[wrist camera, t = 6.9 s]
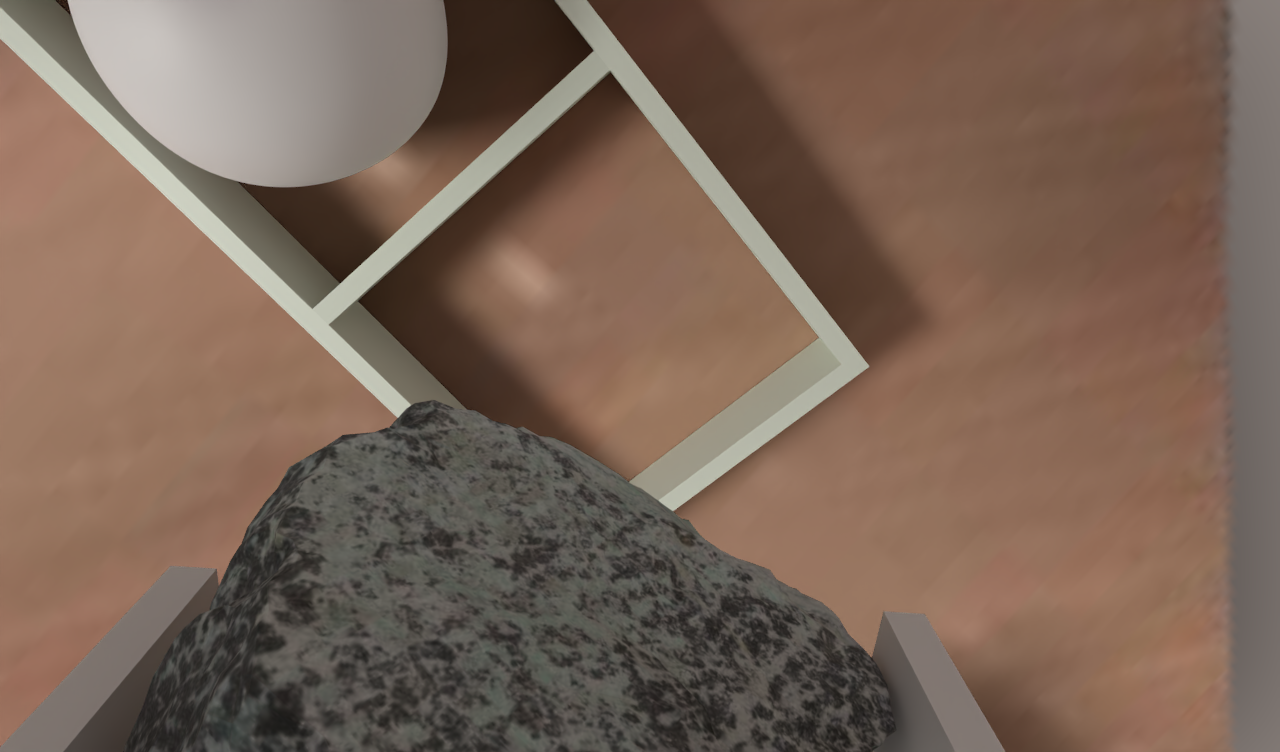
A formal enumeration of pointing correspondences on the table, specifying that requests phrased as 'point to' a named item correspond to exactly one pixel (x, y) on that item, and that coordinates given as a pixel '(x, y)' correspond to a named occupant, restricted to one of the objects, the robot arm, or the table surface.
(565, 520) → the stone
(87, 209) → the table surface
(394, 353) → the holder
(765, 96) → the table surface
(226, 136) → the ornament
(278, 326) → the table surface
